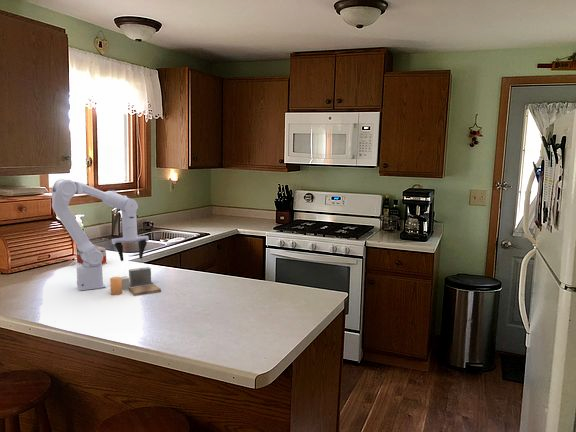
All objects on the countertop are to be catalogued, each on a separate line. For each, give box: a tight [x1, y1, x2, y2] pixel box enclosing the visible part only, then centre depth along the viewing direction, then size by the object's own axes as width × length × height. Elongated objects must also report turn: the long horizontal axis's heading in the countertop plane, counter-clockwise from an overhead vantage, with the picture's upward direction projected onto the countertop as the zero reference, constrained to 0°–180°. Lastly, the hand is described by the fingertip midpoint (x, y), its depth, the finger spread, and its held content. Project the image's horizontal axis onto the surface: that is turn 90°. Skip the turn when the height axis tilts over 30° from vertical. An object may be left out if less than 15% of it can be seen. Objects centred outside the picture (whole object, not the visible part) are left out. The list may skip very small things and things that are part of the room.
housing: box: [128, 266, 154, 287], centre depth 193 cm, size 9×4×6 cm, turn 120°
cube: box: [120, 275, 130, 291], centre depth 186 cm, size 4×4×4 cm
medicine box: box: [75, 245, 107, 265], centre depth 234 cm, size 15×8×8 cm, turn 49°
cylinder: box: [109, 276, 123, 296], centre depth 180 cm, size 4×4×6 cm
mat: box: [128, 283, 162, 297], centre depth 183 cm, size 10×9×1 cm
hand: (131, 259), depth 199 cm, fingers open, 7 cm apart
